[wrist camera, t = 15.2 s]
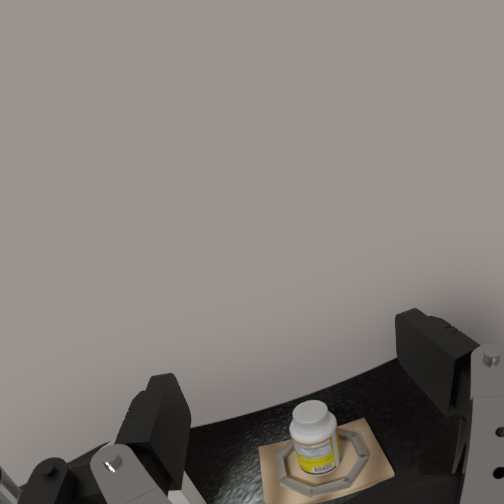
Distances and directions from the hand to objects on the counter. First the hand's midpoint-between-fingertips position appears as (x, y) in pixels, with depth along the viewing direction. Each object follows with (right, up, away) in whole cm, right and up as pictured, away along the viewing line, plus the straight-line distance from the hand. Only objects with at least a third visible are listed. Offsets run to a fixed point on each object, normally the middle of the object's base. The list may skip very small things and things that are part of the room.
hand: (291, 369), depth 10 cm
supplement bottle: (+8, -23, +23) cm, 34 cm away
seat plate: (+8, -25, +24) cm, 35 cm away
